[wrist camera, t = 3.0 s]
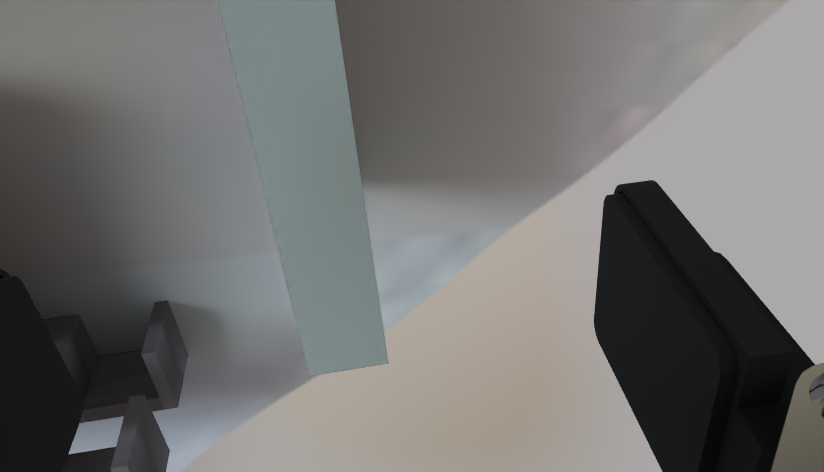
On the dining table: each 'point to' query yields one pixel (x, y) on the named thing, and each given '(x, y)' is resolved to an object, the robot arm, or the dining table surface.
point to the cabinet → (124, 390)
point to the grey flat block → (309, 173)
